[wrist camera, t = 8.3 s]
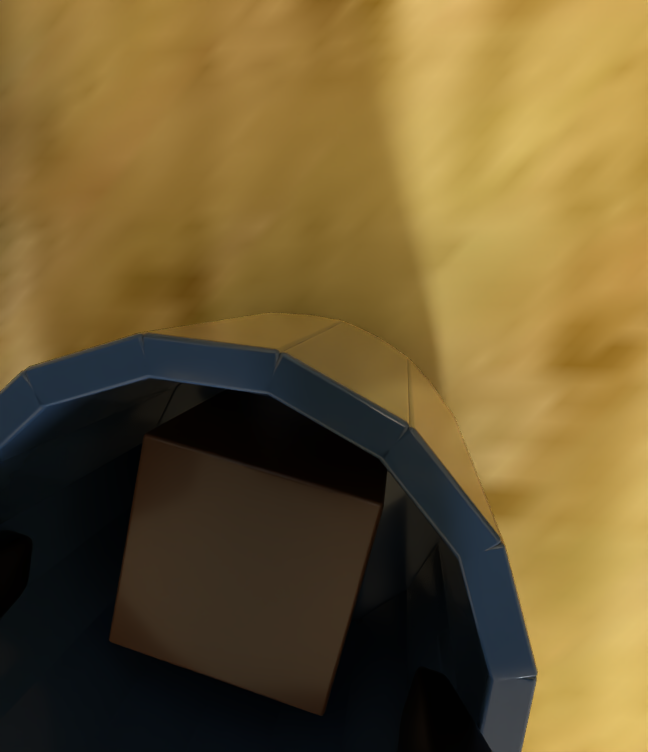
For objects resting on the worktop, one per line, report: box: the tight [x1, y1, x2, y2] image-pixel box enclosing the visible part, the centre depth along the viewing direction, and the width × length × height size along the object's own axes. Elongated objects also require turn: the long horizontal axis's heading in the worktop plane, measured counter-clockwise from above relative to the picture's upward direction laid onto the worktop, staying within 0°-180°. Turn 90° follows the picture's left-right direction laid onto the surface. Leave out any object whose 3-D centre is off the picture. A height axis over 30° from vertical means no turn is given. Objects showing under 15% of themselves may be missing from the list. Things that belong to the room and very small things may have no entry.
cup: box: [0, 312, 538, 752], centre depth 10 cm, size 9×9×7 cm
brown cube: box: [109, 389, 388, 716], centre depth 11 cm, size 4×4×4 cm
